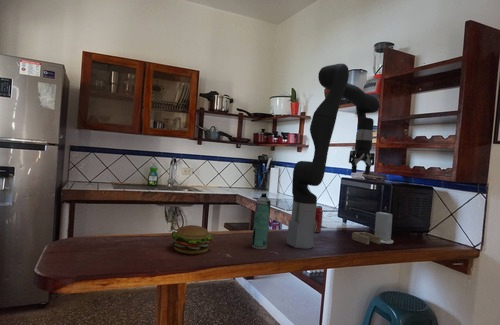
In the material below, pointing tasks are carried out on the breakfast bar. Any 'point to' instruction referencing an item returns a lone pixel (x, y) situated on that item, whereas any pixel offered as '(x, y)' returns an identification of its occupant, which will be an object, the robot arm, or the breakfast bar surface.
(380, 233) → the skincare box
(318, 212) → the soda can
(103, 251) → the breakfast bar surface
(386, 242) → the coaster
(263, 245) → the spray can
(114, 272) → the breakfast bar surface
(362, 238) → the holder
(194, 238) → the food
